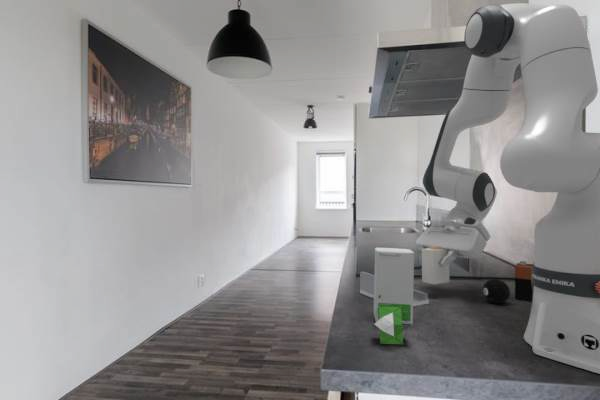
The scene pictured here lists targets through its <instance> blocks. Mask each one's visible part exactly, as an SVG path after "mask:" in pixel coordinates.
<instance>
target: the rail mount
mask: <svg viewBox="0 0 600 400" xmlns="http://www.w3.org/2000/svg"><path fill="white" fill-rule="evenodd" d="M374 275H375V274H372V273H369V272H366V271H360V272H359V294H361V295H363V296H366V297H369V298H371V299H373V300H374ZM428 295H429V294H428V293H426V292H423V291H420V290H416V289H414V288H413V307H417V306H423V305H428V304H430V299H429V297H428Z"/></svg>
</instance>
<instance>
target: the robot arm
mask: <svg viewBox="0 0 600 400" xmlns="http://www.w3.org/2000/svg"><path fill="white" fill-rule="evenodd" d="M465 26H466V27H465V29H464V35H463V36H464V38H463V39H464V40H463V41H464V45H465V48H466V50H467V52H468V53H469V54H470V55H471V57H470V59H469V62H468V65H467V68H466V72H465V77H464V81H463V87H462V91H461V95H460V97H459V99H458V101H457V103H456V104H455V105H454V106H452V107H451V108H449V109H448V111H447V112H446V114H445V116H444V119H443V121H442V124H441V127H440V129H439V132H438V136H437V137H436V138H437V139H436V141H435V145H434V147H433V151H432V153H431V157H430V160H429V163H428V165H427V168H426V170H425V171H424V175H423V177H422V184H423V187H424V189H425V191H426V192H427V194H428V195H429V196H433V197H436V198H437V197H438V198H444V199H448V200H451V201H454V202H456V203H455V206H453V208H452V209H450V211H449V212H448V213H447V215H446V216H445V218H444V219H443V220H442V222H441V225H436V224H434V225H433V226H429V227H427V228H426V229H425V230H424V231H423V232H421V234H420V235H419V236H418V237H417V238H416V239H415V245H416V247H417V248H418V250H420V251H421V252H422V249H427V248H430V247H434V246H438V247H441V249H447V250H449V252H448V255H447V256H446V257H444V258H441V259H440V261H439V262H438V264H439V265H440V266H441V267H447V265H448V264H449V265H450V263H451V262H453V261H455V260H456V259H457V258H465V259H471V260H475V259H478V258H479V257H480V256H481V254H482V253H483V252H484V250H485V248H486V246H487V242H488V241H489V240H490V239H491V237H492V236H491V235H490V232H489V231H488V229H487V228H486V226H485V225H484V224H483V222H482V221H483V220H484V219H485V218H486V217H487V215H488V214H489V213H490V210H491V209H492V207H493V205H494V203H495V200H496V197H497V194H498V192H497V188H496V186H495V184H494V182H493V180H492V178H491V176H490V175H489V174H488V173H487V172H485V171H482V170H478V169H473V168H466V167H462V166H457V165H453V164H451V162H450V159H451V156H452V154H453V151H454V147H455V146H456V145H455V144H456V141H457V138H458V137H459V135H460V134H461V133H462V132H463V131H465V130H467V129H470V128H475V127H480V126H483V125H486V124H489V123H490V124H491V123H492V122H494V121H496V120H497V119H498V118H500V117H501V116H502V115H503V114H504V113H505V111H506V110H507V108H508V105H509V102H510V98H511V95H512V94H511V93H512V88H513V83H514V77H515V76H514V75H515V71H516V69H517V67H518V66H519V65H520V73H521V79H522V87H523V95H524V97H523V98H524V117H523V120H522V123H521V126H520V129H519V130H518V131H517V133H516V134H515V135H514V136H513V137H511V139H510V140H509V141H508V142H507V143H506V145H504V148H503V150H502V152H501V155H500V160H499V162H500V164H499V165H500V171H501V174H502V176H503V178H504V180H505V181H506V182H507V183H508V184H509V185H511V186H512V187H515V188H518V189H522V190H525V191H530V192H535V193H556V197H555V198H556V199H555V201H554V203H553V206H552V208H551V209H550V211H549V212H548V213H547V214H546V215H544V216H543V217H541V219H539V220H538V221H537V223H536V224H535V227H534V258H533V260H534V261H533V262H534V265H533V266H532V274H531V285H532V291H533V300H532V301H531V307H530V313H529V319H528V323H527V326H526V329H525V332H524V334H523V340H524V341H525V342H526V343H527V344H529V345H530V346H531V347H532V353H533V354H535V355H538V356H541V357H543V358H546V359H550V360H553V361H556V362H558V363H559V362H560V363H563V364H566V365H569V366H573V367H576V368H579V369H583V370H586V371H590V372H592V373H594V374H595V373H596V374H599V375H600V132H588V131H587V132H585V131H583V129H582V126H581V125H582V124H581V121H582V114H583V110H584V109H586V108H587V107H589V105H591V103H593V102H594V100H595V99H596V97H597V96H598V91H599V90H598V89H599V87H598V83H597V77H596V71H595V67H594V66H595V65H594V61H593V55H592V51H591V45H590V40H589V37H588V34H587V32H586V29H585V26H584V24H583V22H582V20H581V17H580V16H579V13H578V12H577V10H576V9H575V8H573V7H572V6H570V5H567V4H552V5H544V4H536V3H534V4H533V3H531V4H530V3H527V2H523V3H520V2H519V3H517V2H516V3H504V4H498V3H492V4H487V5H484V6H479V7H478V8H477V9H476V10H475V11H474V12H473V13H472V14H471V16H470V17H469V18H468V21H467V24H466V25H465Z"/></svg>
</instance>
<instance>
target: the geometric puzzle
mask: <svg viewBox="0 0 600 400" xmlns="http://www.w3.org/2000/svg"><path fill="white" fill-rule="evenodd" d="M378 308H379V320H378V321H377V322H376V321H375V319H376V318H374V319H373V321H372V322H373V323H372V324H371V326H373V327H372V328H373V330H374V332H375V334H376V336H377V338H378V341H379V344H380V345H381V344H382V345H383V344H384V345H403V346H404V344H405V340H406V338H407V333H409V331H410V330H408V332H407V331H406V330H407V329H408V328H411V327H412V324H404V323H403V324H402V316H401V309H402V308H401V307H391V306H379V307H378ZM377 312H378V311H377ZM377 312H376V313H377ZM402 312H404V311H402ZM375 316H376V315H375ZM403 316H404V315H403ZM404 319H405V318H404ZM404 321H405V320H404ZM408 321H409V320H408ZM405 322H406V321H405ZM407 323H408V322H407ZM374 328H375V329H374ZM377 330H378V331H379V334H378V331H377ZM404 330H405V332H404ZM403 332H404V333H405V334H403ZM378 335H379V336H378ZM404 335H405V336H404Z"/></svg>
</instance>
